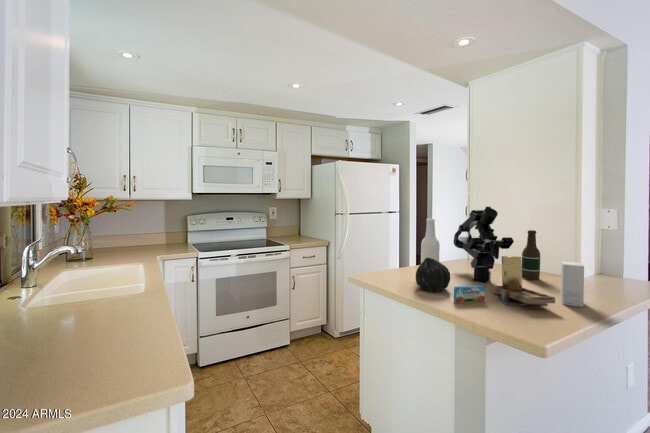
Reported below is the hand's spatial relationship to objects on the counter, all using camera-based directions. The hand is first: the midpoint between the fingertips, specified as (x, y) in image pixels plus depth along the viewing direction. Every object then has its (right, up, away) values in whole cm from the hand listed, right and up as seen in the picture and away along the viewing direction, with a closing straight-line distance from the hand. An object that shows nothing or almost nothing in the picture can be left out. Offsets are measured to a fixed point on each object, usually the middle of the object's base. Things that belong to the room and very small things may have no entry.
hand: (497, 258), depth 144 cm
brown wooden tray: (0, -12, -17) cm, 21 cm away
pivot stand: (0, -15, -17) cm, 22 cm away
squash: (-28, -14, +1) cm, 32 cm away
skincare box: (+19, -15, -19) cm, 30 cm away
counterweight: (0, -12, -11) cm, 16 cm away
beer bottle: (+26, -12, +18) cm, 34 cm away
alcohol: (-24, -13, +20) cm, 33 cm away
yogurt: (-20, -15, -16) cm, 30 cm away
